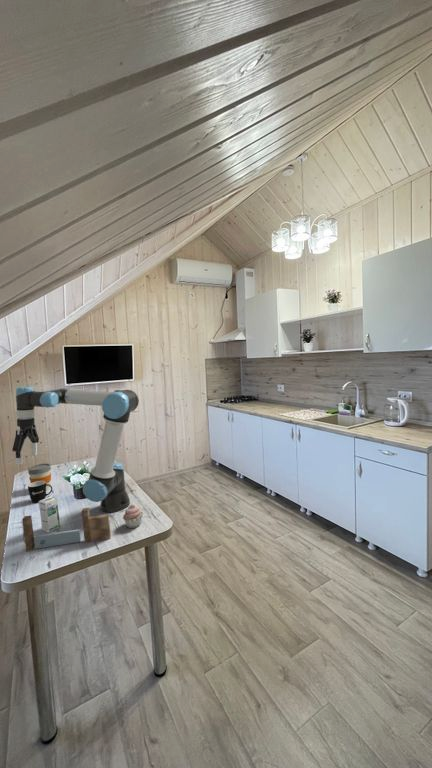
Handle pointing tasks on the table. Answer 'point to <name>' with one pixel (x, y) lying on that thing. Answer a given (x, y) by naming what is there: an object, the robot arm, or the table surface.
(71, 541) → the pale blue flat bar
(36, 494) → the mug
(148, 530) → the table surface
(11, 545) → the table surface
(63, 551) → the table surface
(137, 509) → the cupcake
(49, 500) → the syrup box
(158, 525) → the table surface
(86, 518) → the door frame
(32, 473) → the reusable coffee cup
